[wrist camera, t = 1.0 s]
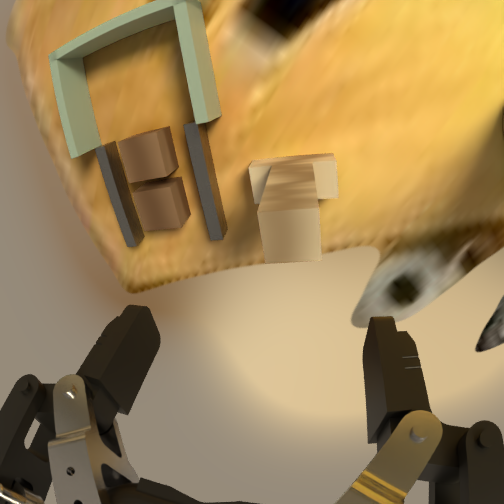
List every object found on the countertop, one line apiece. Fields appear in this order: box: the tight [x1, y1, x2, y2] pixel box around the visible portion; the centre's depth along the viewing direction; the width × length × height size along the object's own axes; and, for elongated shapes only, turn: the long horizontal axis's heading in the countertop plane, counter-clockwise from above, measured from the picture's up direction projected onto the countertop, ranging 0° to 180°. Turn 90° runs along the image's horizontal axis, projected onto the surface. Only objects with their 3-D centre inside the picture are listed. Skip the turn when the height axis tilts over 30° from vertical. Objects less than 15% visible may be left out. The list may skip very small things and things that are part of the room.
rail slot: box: [95, 121, 228, 247], centre depth 27 cm, size 11×11×2 cm
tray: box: [49, 0, 222, 159], centre depth 21 cm, size 14×11×4 cm
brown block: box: [118, 126, 179, 183], centre depth 25 cm, size 4×4×3 cm
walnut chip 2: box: [133, 177, 191, 231], centre depth 28 cm, size 4×4×3 cm
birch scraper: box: [249, 153, 339, 264], centre depth 21 cm, size 7×3×12 cm, turn 99°
